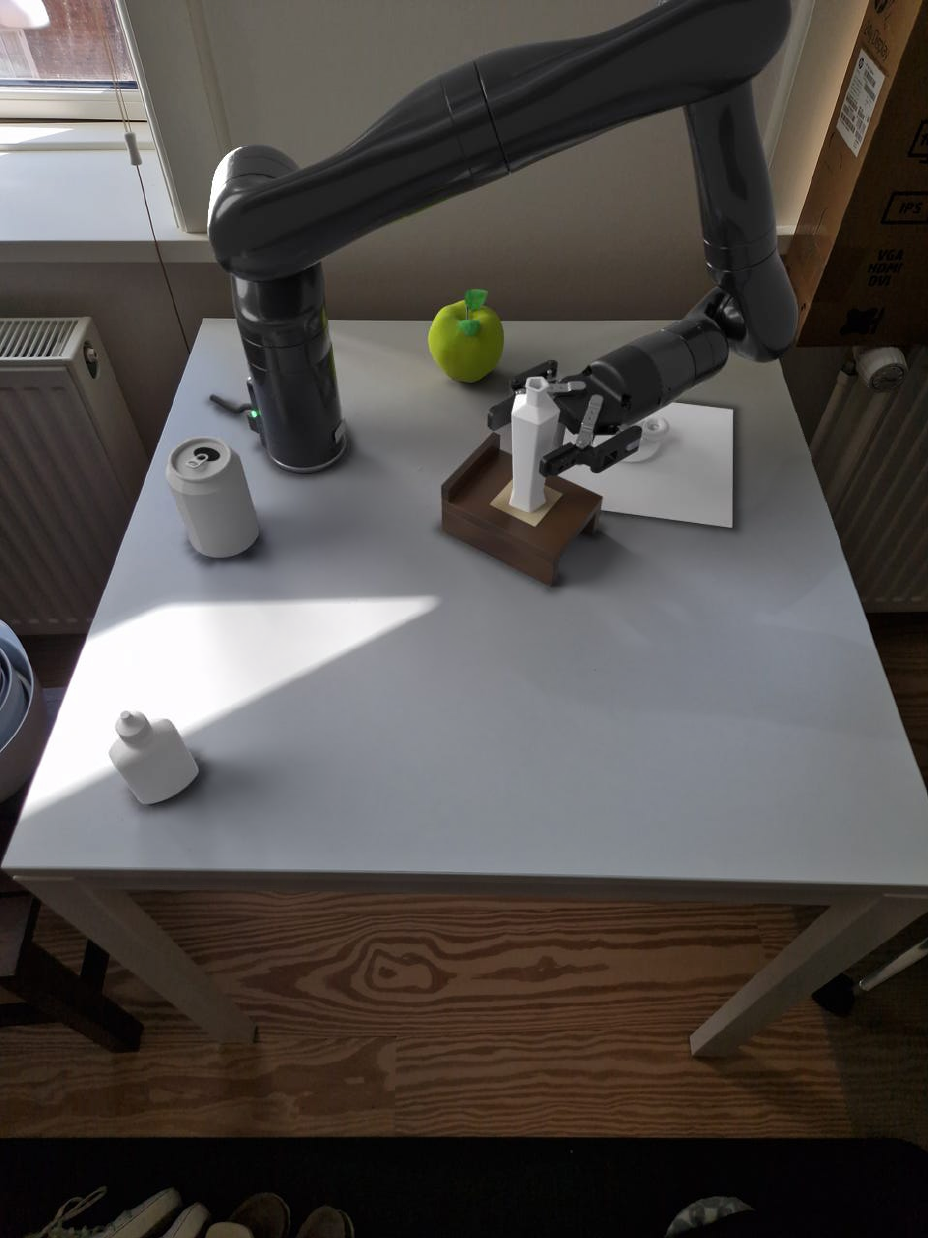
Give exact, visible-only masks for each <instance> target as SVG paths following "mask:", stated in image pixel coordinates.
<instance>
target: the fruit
mask: <svg viewBox="0 0 928 1238" xmlns="http://www.w3.org/2000/svg"><path fill="white" fill-rule="evenodd" d="M488 295H489V292H488V291H487V290H484V289H481V288H471V289H468V290H467V291H466V292H465V295H464V299H463V300H460V301H457V302H455V303H453V304H449V305H448V304H447V305H446V306H444V307H442V308H441V309H440V310H439V311H438V313H437V314H436V315H435V316H434V319H433V322H432V324H431V326H430V328H429V331H428V337H427V338H428V339H427V341H428V348H429V351H430V354H431V356H432V358H433V360H434V362H436V364H437V366H438V367H439V368H440V369H441V370H442V372H443V373H444V374H445V375H446V376H447V377H449V378H450V379H452V380H453V381H456V382H457V381H458V382H464V383H470V384H471V383H475V382H479V381H480V380H481V379H483V378H484V377H486V376H487V375H489V373H491V372H492V371H494V370H495V368H496V367H497V366H498V364H499V362H500V360H501V358H502V354H503V351H504V345H505V331H504V327H503V323H502V321H501V319H500V318H499V316H498V314H497V313H496V312H495V311H494V310H493V309H492V308H491V307H488V306H485V305H484V303H486V300H487V297H488Z"/></svg>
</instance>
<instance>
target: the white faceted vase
mask: <svg viewBox="0 0 928 1238" xmlns="http://www.w3.org/2000/svg"><path fill="white" fill-rule="evenodd" d="M524 386H525V385H524ZM525 387H526V388H527V392H526V394H519V395H516V398H515V401H514V405H513V409H512V422H511V442H512V443H511V448H512V449H511V450H512V451H511V452H512V453H511V454H512V455H513V490H512V494H511V498H510V502H509V504H510V505H511V506H513V507H515V508H518V509H520V510H523V511H525V512H528V513H531V512H533V511H534V510H536V509H537V508H538V507H540V506H541V505H543V504H544V503H545V502H546V499H545V495H544V491H543V489H544V484H545V480H546V477H543V476H542V475H541V474H540V473H539V465H540V460H541V458H542V457H543V456H545V455H547V454H548V453H550V452H552V451H553V446H554V441H555V437H556V431H557V427H558V424H559V422H558V418H559V414H560V409H559V408H558V407H557V405H556V404H555V403H554V401H553V400H554V399H553V398H552V397H551V396H549V395H548V394H547V387H549V384H548V383H547V381H546V380H545V379H544V378H543V377H530V378H528V379H527V382H526V386H525Z"/></svg>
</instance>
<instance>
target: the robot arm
mask: <svg viewBox="0 0 928 1238" xmlns="http://www.w3.org/2000/svg"><path fill="white" fill-rule="evenodd" d="M653 4H654V5H653V8H651V9H649V10H647V11H645V12H643V13H641V14H639V15H637V16H635V17H633V18H631V19H628V20H626V21H625V22H623V23H621V24H618V25H615V26H613V27H611V28H609V29H606V30H602V31H599V32H596V33H592V34H588V35H582V36H576V37H568V38H559V39H549V40H539V41H531V42H526V43H519V44H513V45H508V46H503V47H499V48H495V49H492V50H489V51H487V52H484V53H481V54H479V55H477V56H475V57H474V58H473V57H472V58H470V59H467V60H466V61H464V62H461V63H459V64H456V65H455V66H453V67H450V68H448V69H446V70H444V71H442V72H440V73H437V74H435V75H434V76H431V77H430V78H428V79H426V80H424V81H423V82H421V83H420V84H418V85H416V86H415V87H414V88H412V89H411V90H410V91H408V92H407V93H406V94H405V95H403V96H402V97H401V98H400V99H398V100H397V101H396V102H395V103H394V104H393V105H392V106H389V108H388V109H387V110H385V112H383V113H382V114H381V115H379V117H378V118H377V119H376V120H375V121H373V122H372V123H371V125H369V126H368V127H367V128H366V129H365V130H364V131H363V132H362V133H360V134H359V135H358V136H357V137H356V138H355V139H353V141H351V142H349V143H348V144H347V145H346V146H344V147H342V149H340V150H338V151H336V152H335V153H333V154H331V155H330V156H328V157H325V158H323V159H322V160H320V161H318V162H315V163H313V164H310V165H308V166H305V167H303V168H301V167H300V166H299V165H298V163H296V161H295V160H294V159H293V158H291V156H289V155H288V154H286V153H285V152H283V151H282V150H280V149H278V148H276V147H274V146H270V145H267V144H261V143H258V144H256V143H255V144H253V143H252V144H245V145H243V146H240V147H238V148H236V149H234V150H232V151H231V152H229V153H228V154H226V155H225V157H224V158H223V159H222V160H221V162H220V163H219V164H218V166H217V168H216V170H215V173H214V176H213V179H212V183H211V190H210V200H209V205H208V213H207V215H208V216H207V236H208V243H209V247H210V251H211V254H212V255H213V257H214V259H215V261H216V262H217V264H218V265H219V266H220V267H221V268H222V269H223V270H224V271H225V272H227V273H228V274H229V277H230V286H231V287H230V288H231V298H232V307H233V314H234V317H235V322H236V326H237V328H238V333H239V337H240V341H241V345H242V350H243V354H244V356H245V361H246V365H247V369H248V373H249V377H248V378H247V380H246V387H247V391H248V396H249V400H250V403H248V402H247V403H246V402H245V403H242V404H240V405H238V406H237V405H234V404H232V403H230V402H228V401H226V400H224V399H223V398H221V397H220V396H218V395H216V394H213V393H211V394H210V396H209V401H211V402H213V403H215V404H216V405H218V406H220V407H221V408H223V409H225V410H227V411H229V412H232V413H235V414H242V413H244V412H245V411H250V412H248V413H247V414H246V418H247V422H248V425H249V430H250V431H251V432H254V433H256V434H258V435H259V438H260V442H261V446H262V447H264V448H265V449H266V450H267V453H268V456H269V458H270V460H271V461H272V462H273V463H274V464H275V465H276V466H277V467H279V468H280V469H282V470H285V471H288V472H290V473H295V474H296V473H297V474H309V473H316V472H319V471H323V470H325V469H328V468H330V467H332V466H333V465H334V464H336V463H337V462H338V461H339V460H341V458H342V457H343V456H344V454H345V453H346V450H347V447H348V439H347V434H346V429H347V423H346V422H347V421H346V418H345V417H343V411H342V403H341V395H340V391H339V383H338V377H337V369H336V362H335V357H334V349H333V344H332V337H331V329H330V323H329V317H328V316H329V315H328V309H327V300H326V290H325V289H326V288H325V278H324V268H323V263H322V261H323V260H325V259H326V258H328V257H330V256H332V255H333V254H335V253H337V252H339V251H341V250H342V249H344V248H345V247H348V246H349V245H351V244H353V243H355V242H357V241H358V240H360V239H362V238H364V237H366V236H368V235H370V234H372V233H374V232H376V231H378V230H380V229H383V228H385V227H387V226H390V225H392V224H395V223H397V222H400V221H403V220H404V219H407V218H409V217H411V216H414V215H416V214H418V213H421V212H423V211H425V210H427V209H430V208H432V207H434V206H436V205H439V204H441V203H443V202H446V201H448V200H450V199H452V198H456V197H458V196H460V195H463V194H465V193H469V192H471V191H475V190H477V189H480V188H482V187H484V186H486V185H489V184H491V183H494V182H497V181H498V180H501V179H503V178H505V177H508V176H510V175H513V174H514V173H517V172H519V171H521V170H522V169H525V168H527V167H529V166H531V165H533V164H536V163H537V162H541V161H542V160H545V159H547V158H550V157H552V156H555V155H557V154H559V153H561V152H564V151H566V150H569V149H572V148H574V147H576V146H578V145H581V144H583V143H585V142H588V141H590V140H592V139H595V138H597V137H600V136H601V135H603V134H606V133H608V132H610V131H613V130H615V129H617V128H620V127H623V126H625V125H628V124H631V123H634V122H637V121H640V120H643V119H646V118H649V117H653V116H656V115H660V114H662V113H666V112H670V111H673V110H676V109H679V108H682V111H683V116H684V120H685V126H686V131H687V136H688V141H689V148H690V152H691V153H690V154H691V160H692V166H693V167H692V168H693V173H694V181H695V190H696V198H697V206H698V215H699V222H700V230H701V237H702V244H703V245H702V246H703V251H704V259H705V265H706V271H707V274H708V277H709V279H710V280H711V281H712V283H714V285H716V286H715V287H713V288H711V289H710V290H709V291H708V292H707V293H706V294H705V295H704V296H703V297H702V298H701V299H700V300H699V301H698V302H697V303H696V304H695V305H694V306H693V307H692V308H690V310H689V311H688V312H687V313H686V314H685V315H684V316H683V317H682V318H681V319H680V320H678V321H674V322H673V323H670V324H669V325H667V326H665V327H663V328H662V329H659V330H658V331H655V332H652V333H649V334H646V335H643V336H640V337H638V338H636V339H634V340H632V341H630V342H628V343H625V344H624V345H622V346H620V347H617V348H616V349H613V350H612V351H610V352H609V353H607V354H604V355H602V356H600V357H598V358H597V359H594V360H592V361H591V362H590V363H589V364H588V365H586V367H585V368H584V369H583V370H582V371H581V372H579V373H578V374H577V373H576V374H572V375H565V374H564V373H562V372H561V371H560V370H558V368H559V367H558V366H559V362H558V361H557V360H556V359H549V360H546V361H544V362H542V363H540V364H538V365H535V366H534V367H532V368H530V369H528V370H525V371H523V372H521V373H519V374H517V375H515V376H513V377H511V378H510V379H509V390H508V391H509V392H508V398H506V399H505V400H502V401H500V402H499V403H497V404H494V405H492V406H491V407H490V408H489V410H488V412H487V418H486V419H487V420H486V422H487V423H486V426H487V428H488V429H489V430H491V431H492V432H495V431H498V430H500V429H501V428H503V427H505V426H508V425H509V424H512V409H513V405H514V401H515V398H516V395H519V394H526V392H527V388H526V387H525V386H526V382H527V379H528V378H530V377H543V378H544V379H545V380H546V381H547V383H548V384H549V387H547V394H548V395H549V396H550V397H553V399H552V400H553V401H554V403H555V404H556V405H557V407H558V408H559V409H560V414H559V418H558V424H560V425H562V426H565V429H566V428H567V429H568V431H569V432H571V433H572V434H573V435H575V434H578V437H577V439H576V443H575V444H572V443H571V442H569V443H567V444H565V445H563V444H562V445H561V446H559V447H558V448H556V449H554V450H552V451H551V452H550V453H548V454H547V455H545V456H543V457H542V458H541V460H540V465H539V473H540V474H541V475H542V476H543V477H548V476H550V475H551V476H556V475H559V474H560V473H562V472H564V471H566V470H568V469H569V468H571V467H573V466H575V465H579V466H581V465H587V466H589V467H590V470H591V471H592V472H593V473H601V472H602V471H604V470H606V469H607V468H609V467H611V466H613V465H614V464H616V463H618V462H620V461H621V460H623V459H625V458H626V457H628V456H630V455H632V454H633V453H635V452H637V451H638V448H639V444H640V440H641V435H642V428H641V427H640V426H638V425H633V424H635V423H637V422H639V421H640V420H642V419H644V418H646V417H648V416H649V415H651V414H653V413H655V412H657V411H658V410H660V409H662V408H664V407H666V406H668V405H669V404H671V403H672V402H674V403H675V401H677V400H678V399H679V398H681V397H682V396H683V395H685V394H686V393H688V392H689V391H691V390H693V389H695V388H697V387H699V386H701V385H702V384H704V383H706V382H707V381H710V380H711V379H714V377H715V376H717V375H718V374H719V373H720V372H722V370H723V369H724V368H725V366H726V365H727V362H728V359H729V355H730V353H732V354H734V355H737V356H739V357H741V358H744V359H746V360H749V361H751V362H754V363H759V364H767V363H768V364H769V363H771V362H774V361H776V360H778V359H780V358H781V357H783V356H784V355H785V354H786V353H787V352H788V350H789V349H790V348H791V346H792V345H793V343H794V341H795V339H796V336H797V333H798V329H799V320H800V314H799V313H800V312H799V306H798V305H799V304H798V300H797V296H796V294H795V291H794V289H793V286H792V284H791V281H790V278H789V275H788V272H787V269H786V267H785V265H784V263H783V261H782V258H781V256H780V254H779V251H778V249H779V248H778V230H777V215H776V213H777V212H776V202H775V194H774V188H773V183H772V177H771V174H770V168H769V164H768V160H767V156H766V151H765V148H764V144H763V139H762V134H761V130H760V125H759V121H758V120H759V119H758V116H757V115H758V114H757V109H756V102H755V95H754V94H755V93H754V84H753V80H754V79H755V78H756V77H758V76H759V75H760V74H761V73H763V71H765V70H766V69H767V68H768V66H770V64H771V63H772V62H773V61H774V60H775V58H776V57H777V55H778V54H779V52H780V51H781V50H782V48H783V47H784V44H785V42H786V40H787V38H788V36H789V33H790V29H791V26H792V22H793V1H792V0H654V3H653ZM631 425H633V426H631ZM630 426H631V427H630ZM599 435H615V436H613V437H612V438H610V439H608V440H606V441H605V442H603V443H601V444H599V445H598V446H596V447H593V446H592V445H593V442H594V440H595V437H596V436H599Z"/></svg>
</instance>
